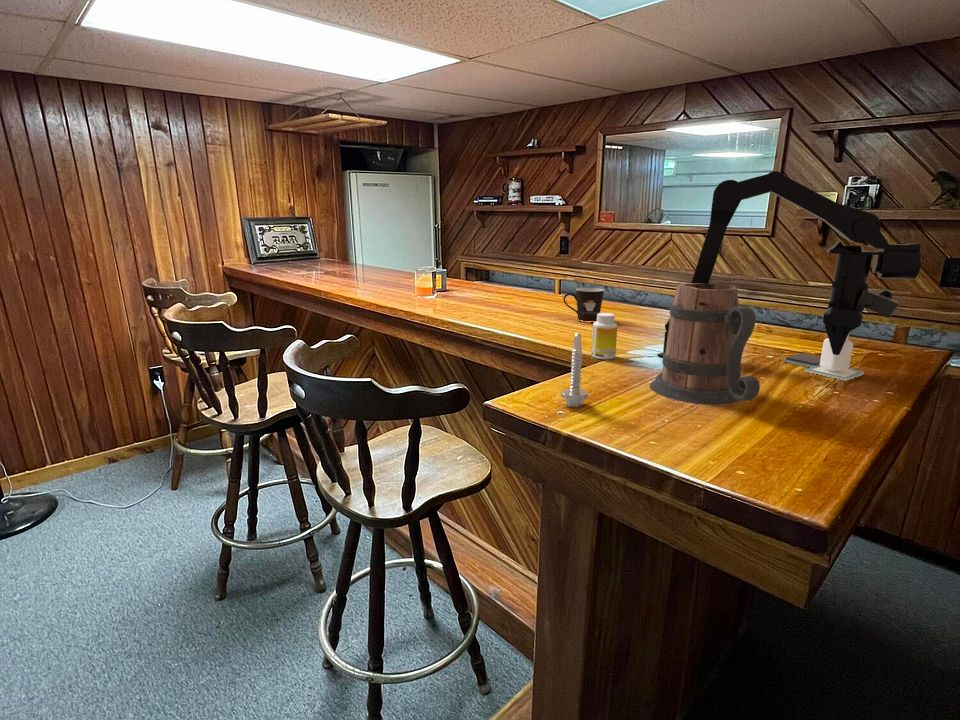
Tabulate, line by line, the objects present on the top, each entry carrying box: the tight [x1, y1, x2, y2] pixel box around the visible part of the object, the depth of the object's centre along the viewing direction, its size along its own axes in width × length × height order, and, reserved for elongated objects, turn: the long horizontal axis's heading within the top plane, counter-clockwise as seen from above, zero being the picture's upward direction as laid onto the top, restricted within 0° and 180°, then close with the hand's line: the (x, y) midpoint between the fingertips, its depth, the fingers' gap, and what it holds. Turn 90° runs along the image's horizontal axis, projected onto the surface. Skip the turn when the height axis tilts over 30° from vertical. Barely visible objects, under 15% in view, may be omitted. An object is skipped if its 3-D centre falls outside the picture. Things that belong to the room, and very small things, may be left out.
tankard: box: [649, 282, 761, 406], centre depth 96 cm, size 24×17×20 cm
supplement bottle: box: [591, 312, 618, 360], centre depth 124 cm, size 6×6×10 cm
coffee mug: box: [563, 287, 605, 321], centre depth 168 cm, size 12×9×10 cm
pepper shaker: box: [820, 331, 854, 371], centre depth 111 cm, size 4×4×10 cm
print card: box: [804, 366, 865, 382], centre depth 112 cm, size 8×8×1 cm
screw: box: [560, 332, 590, 408], centre depth 92 cm, size 13×5×5 cm
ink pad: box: [782, 352, 821, 368], centre depth 120 cm, size 8×7×1 cm
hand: (836, 351), depth 111 cm, fingers closed on pepper shaker, 5 cm apart
